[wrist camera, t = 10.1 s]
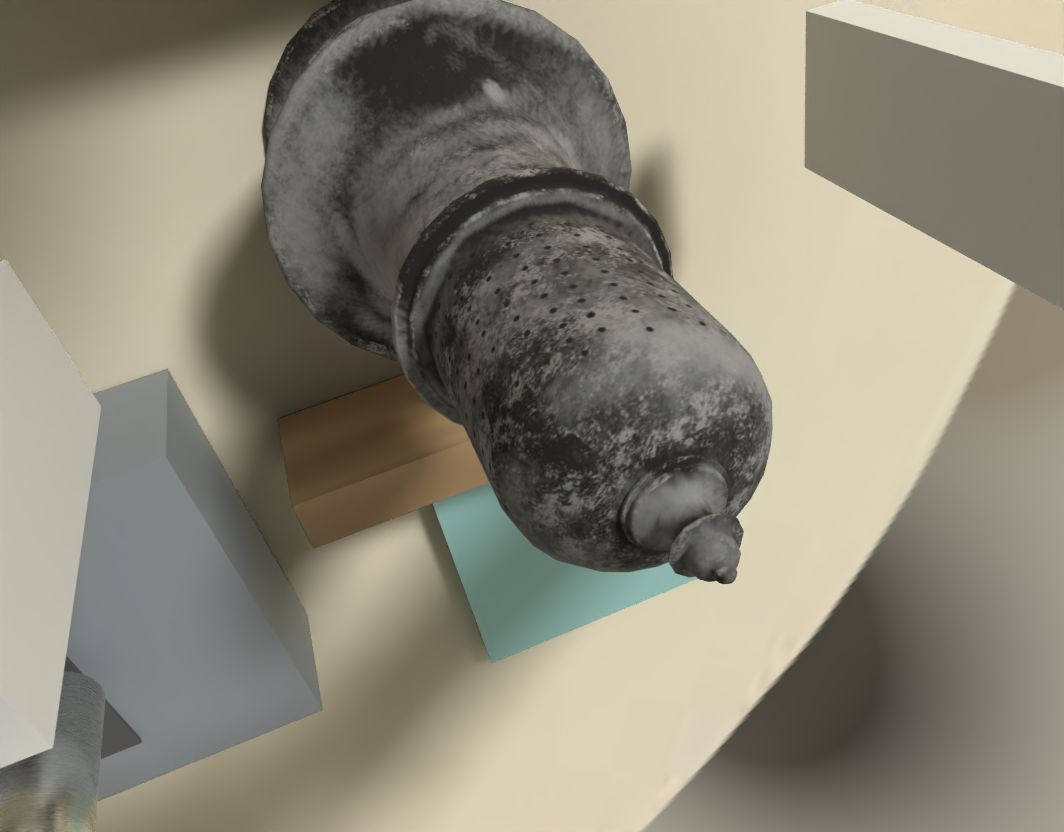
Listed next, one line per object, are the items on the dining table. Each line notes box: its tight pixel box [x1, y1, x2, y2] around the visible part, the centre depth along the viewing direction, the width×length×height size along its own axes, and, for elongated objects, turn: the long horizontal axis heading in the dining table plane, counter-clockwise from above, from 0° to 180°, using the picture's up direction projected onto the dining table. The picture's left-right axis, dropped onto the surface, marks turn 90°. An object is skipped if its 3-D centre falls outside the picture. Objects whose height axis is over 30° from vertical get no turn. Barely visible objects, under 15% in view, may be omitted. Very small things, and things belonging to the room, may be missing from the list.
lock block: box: [64, 369, 323, 801], centre depth 18 cm, size 8×8×3 cm
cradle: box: [278, 375, 489, 548], centre depth 15 cm, size 12×9×3 cm
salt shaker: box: [261, 0, 772, 584], centre depth 11 cm, size 6×6×12 cm
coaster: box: [433, 482, 698, 663], centre depth 23 cm, size 8×8×1 cm
